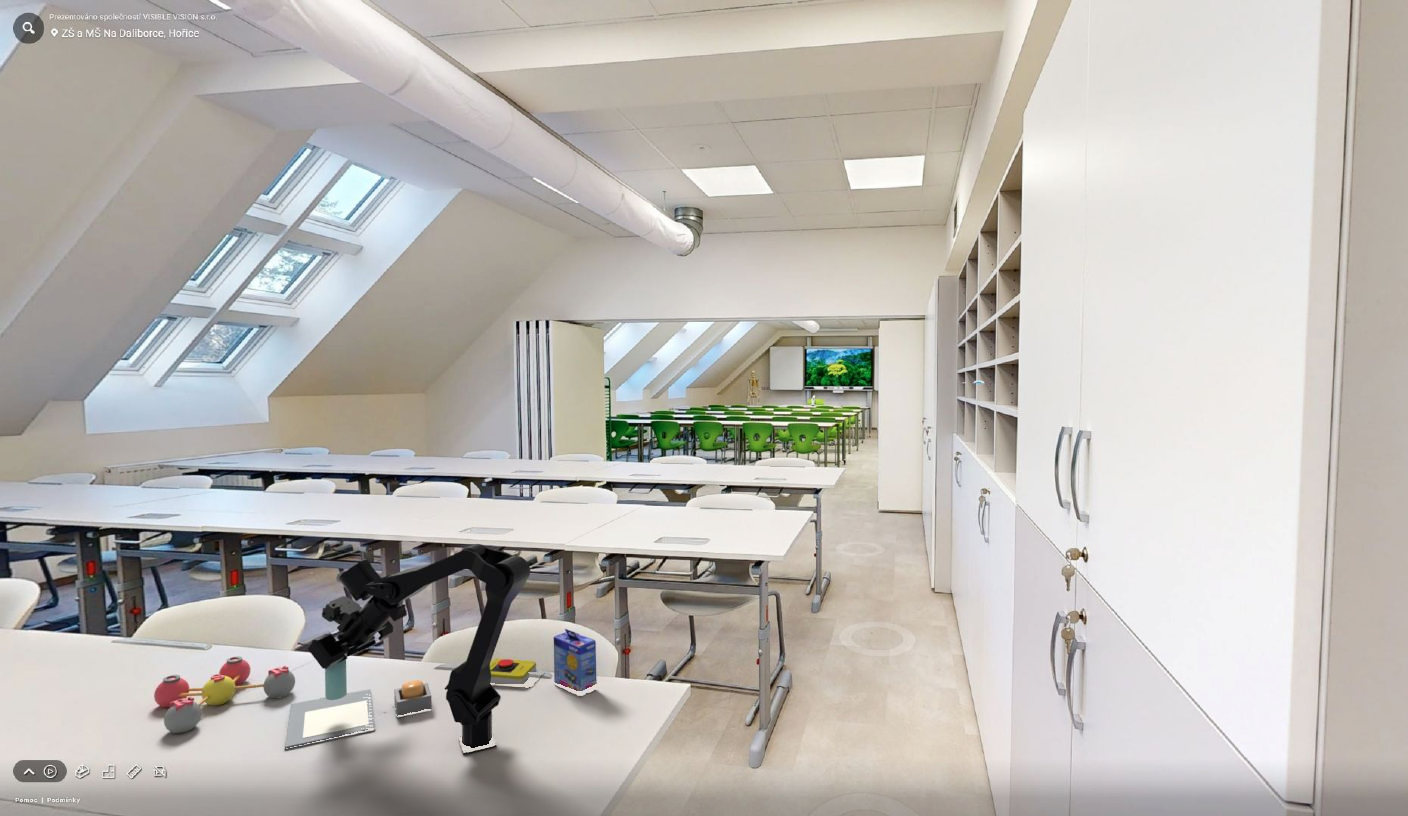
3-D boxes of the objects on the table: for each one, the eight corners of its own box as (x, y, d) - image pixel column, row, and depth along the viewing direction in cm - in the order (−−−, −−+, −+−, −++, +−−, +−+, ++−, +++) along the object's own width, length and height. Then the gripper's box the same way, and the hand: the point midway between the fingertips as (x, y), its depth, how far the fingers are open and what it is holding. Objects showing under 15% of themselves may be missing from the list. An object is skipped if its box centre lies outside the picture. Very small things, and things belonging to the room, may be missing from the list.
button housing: (431, 711, 151) (431, 695, 151) (396, 718, 148) (396, 702, 147) (427, 697, 157) (427, 682, 157) (394, 704, 154) (394, 689, 154)
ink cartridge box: (552, 686, 164) (552, 626, 163) (570, 678, 168) (570, 620, 167) (579, 698, 157) (579, 636, 157) (597, 690, 162) (597, 630, 161)
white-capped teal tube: (341, 700, 144) (340, 653, 143) (320, 700, 144) (320, 653, 143) (351, 690, 148) (350, 645, 148) (331, 691, 148) (330, 645, 147)
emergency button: (489, 652, 173) (545, 656, 171) (489, 669, 174) (545, 674, 171) (471, 667, 164) (531, 672, 162) (471, 685, 164) (531, 690, 162)
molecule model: (171, 742, 138) (170, 711, 138) (132, 713, 150) (131, 684, 149) (300, 695, 159) (300, 668, 158) (257, 672, 170) (257, 647, 170)
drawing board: (374, 730, 142) (374, 727, 142) (284, 749, 135) (284, 746, 135) (370, 691, 160) (370, 688, 160) (290, 706, 152) (290, 703, 152)
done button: (424, 700, 151) (424, 686, 151) (402, 704, 149) (402, 690, 149) (422, 691, 155) (422, 679, 155) (401, 696, 153) (401, 682, 153)
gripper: (381, 574, 153) (341, 618, 156) (314, 600, 135) (270, 649, 138) (412, 612, 151) (370, 656, 154) (348, 644, 133) (303, 692, 136)
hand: (330, 662), depth 146 cm, fingers closed on white-capped teal tube, 4 cm apart
